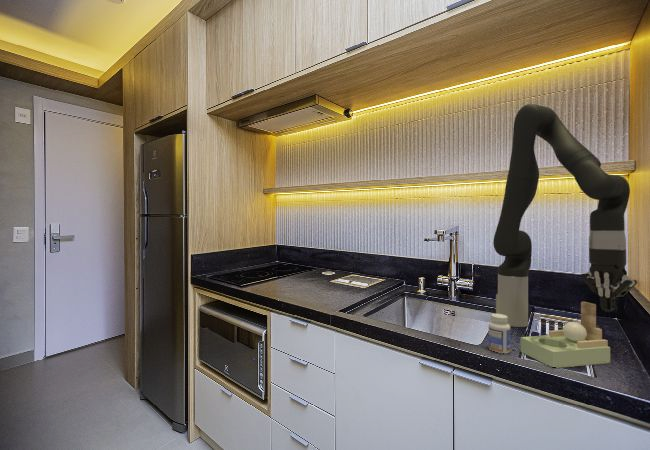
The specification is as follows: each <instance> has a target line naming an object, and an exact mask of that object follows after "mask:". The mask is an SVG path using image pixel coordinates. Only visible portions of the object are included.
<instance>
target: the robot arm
mask: <svg viewBox="0 0 650 450" xmlns="http://www.w3.org/2000/svg"><path fill="white" fill-rule="evenodd" d="M512 129H513V131H512V132H513V133H512V144H511V145H512V146H511V154H510V159H509V167H508V173H507V177H506V182H505V189H504V194H503V195H504V196H503V200H502V206H501V209H500V210H501V211H500V216H499V219H498V223H497V225H496V228H495V233H494V236H493V243H492V244H493V248H494V250H495V252H496V254H498V255H499V256H501V257H502V256H503V257H504V260H503V262H502V263H501V264H500V265H499V266H497V293H496V294H495V314H502V315H506V316H507V317H508V322H507V324H509V325H510V327H514V328H526V327H528V326H529V271H530V269H531V265H532V256H533V255H532V253H533V248H532V247H533V243H532V240H531V237H530V235H529V234H528V233H527V232H526V231H525V230H524V231H523V230H520V228H521V227H520V226H521V222H522V219H523V216H524V215H525V212H527V210H528V208H529V207H530V205H531V204H532V202H533V200H534V199H535V196H536V194H537V191H538V186H539V180H540V169H539V165H538V162H537V158H536V154H535V143H536V136H537V137H539V138H541V139H542V140H543V141H545V142H547V143H548V144H549V145H550V146H551V148H552V150H553V151H554V155H555V157H556V159H557V160H558V162H559V163H560V164H561V165H562V166H563V168H565V169H566V171H567V172H569V174H570V175H572V176H573V178H574V180H575V182H576V184H577V185H578V187H579V188H580V190H581V192H582V193H583V194H584V195H586V196H587V197H588V198H590V199H592V200H596V201H598V203H597V208H596V209H594V210H593V211H591V212H590V214H589V237H588V262H589V264H590V267H589V269H588V270H589V271H587V272H586V273H581V275H580V276H581V278H582V279H583V281H584V282H585V283H586V285H587V286H588V288H589V290H591V292H592V293H594V294H597V295H598V296H599V306H600V308H601V310H602V311H604V312H608V313H610V312H614V311H615V310H616V298H618V297H622V298H623V297H625V295H627V294H628V293H629V292H630V291H631V290H632V289H633V288H634V287H635V286H636V285H637V284H638V280H636V279H632V278H631V277H630V276H629V275H627V274H628V272H627V270H626V265H627V238H626V234H625V233H626V232H625V231H626V230H625V227H626V225H625V212H626V210H627V207H628V203H629V201H630V200H629V199H630V193H631V190H630V189H631V188H630V183H629V181H628V180H627V179H626V178H625V177H624V176H621V175H619V174H618V175H617V174H609V173H606V171H605V170H603V169H602V168H601V166H602V163H601V161H600V159H599V158H598V157H596V155H594V154H593V152H591V151H590V150H589V149H588V148H587V147H586V146H584V145H583V144H582V143H581V142H580V141H579V140H578V139H577V138H576V137H575V136H574V135H573V134H572V133H571V132H570V131H569V129H568V128H567V127H566V125H564V123H563V122H562V120H561V118H560V117H559V115H558V114H557V113H556V112H555V110H554V109H552V108H551V107H548V106H543V105H539V104H534V103H529V104H524V105H523V106H522V107H520V109H519V110H518V111H517V113H516V115H515V117H514V120H513V128H512Z"/></svg>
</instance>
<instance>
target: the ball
mask: <svg viewBox="0 0 650 450" xmlns="http://www.w3.org/2000/svg"><path fill="white" fill-rule="evenodd" d="M562 330H563V333H564V335H565V336H566V337H567V338H568V339H569V340H571V341H574V342H577V341H583V340H584V339H585V338H586V336H587V331H586V329H585V328H584V327H583V326H582V325H581V324H579V323H576V321H569V322H567V323H566V324H565V323H564V325H563V327H562Z"/></svg>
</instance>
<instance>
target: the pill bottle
mask: <svg viewBox="0 0 650 450" xmlns="http://www.w3.org/2000/svg"><path fill="white" fill-rule="evenodd" d="M490 319H491V321H489V322H488V327H487V328H488V349H489V350H490V351H491V350H492V351H491V352H493V351H495V352H494V353H496V352H498V353H497V354H503V353H504V354H509V353H510V352H511V350H512V347H511V340H512V339H511V337H512V335H511V331H512V330H511V326H510V325H509V324H507V322H508V317H507V316H506V315H502V314H496V313H491V316H490Z"/></svg>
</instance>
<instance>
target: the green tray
mask: <svg viewBox="0 0 650 450" xmlns="http://www.w3.org/2000/svg"><path fill="white" fill-rule="evenodd" d="M608 342H609V340H607V339H603V338H602V340H587V339H584V340H583V341H577V342H574V341H571V340H569V339H568V338H567V337H566V336H565V335H564V333H563V329H553V330H548V334H546V335H536V336H535V335H534V336H521V337H520V353H522V354H524V355H526V356H528V357H531V358H532V359H534V360H536V361H538V362H540V363H542V364H544V365H546V366H548V365H549V366H548V367H550V366H552V367H556V368H555V369H559V368H560V369H562V368H571V367H583V366H592V365H600V364H601V365H603V364H611V346H608V345H609V343H608ZM552 367H551V368H552Z"/></svg>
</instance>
